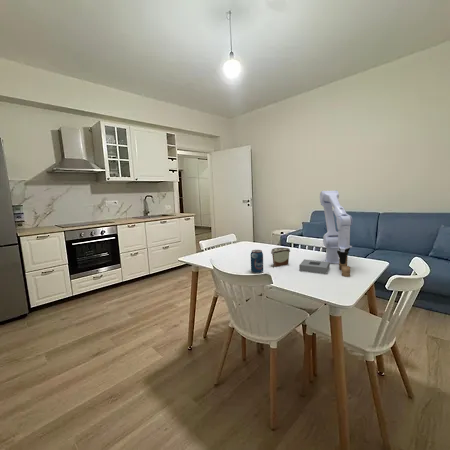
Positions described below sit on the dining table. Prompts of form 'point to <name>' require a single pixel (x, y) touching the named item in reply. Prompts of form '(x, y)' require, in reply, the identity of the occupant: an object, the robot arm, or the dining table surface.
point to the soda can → (256, 261)
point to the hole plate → (314, 266)
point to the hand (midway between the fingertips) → (343, 262)
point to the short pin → (345, 271)
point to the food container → (280, 256)
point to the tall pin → (342, 264)
